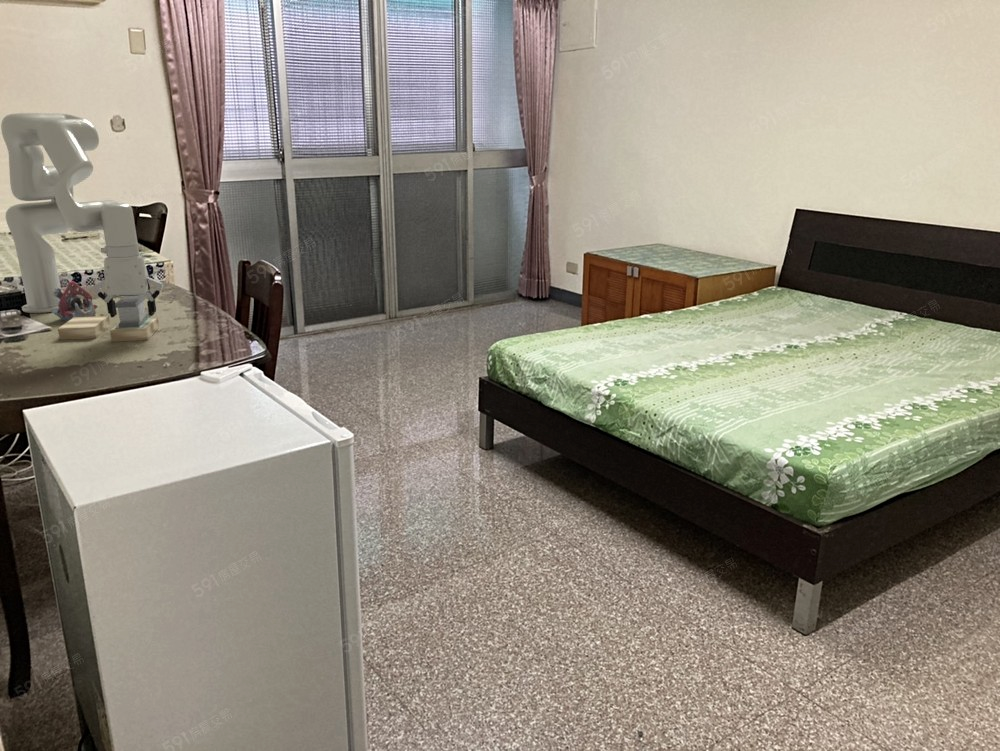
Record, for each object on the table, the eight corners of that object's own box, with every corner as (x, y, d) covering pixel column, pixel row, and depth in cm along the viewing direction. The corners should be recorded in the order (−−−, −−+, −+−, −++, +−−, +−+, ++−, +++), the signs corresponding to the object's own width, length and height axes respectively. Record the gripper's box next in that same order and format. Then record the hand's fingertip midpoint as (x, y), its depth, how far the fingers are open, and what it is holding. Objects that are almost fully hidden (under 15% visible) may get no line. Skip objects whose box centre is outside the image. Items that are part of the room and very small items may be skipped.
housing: (128, 319, 209) (125, 295, 207) (148, 318, 210) (144, 295, 207) (119, 327, 200) (115, 303, 198) (139, 327, 201) (135, 302, 199)
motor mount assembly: (78, 317, 214) (52, 281, 213) (59, 336, 219) (34, 302, 218) (110, 308, 224) (86, 274, 224) (91, 327, 229) (67, 294, 229)
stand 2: (124, 329, 211) (123, 318, 210) (159, 328, 212) (157, 316, 211) (111, 341, 200) (109, 329, 199) (147, 339, 201) (146, 328, 200)
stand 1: (75, 327, 212) (73, 317, 211) (110, 326, 214) (108, 316, 213) (59, 339, 201) (57, 328, 200) (96, 338, 203) (94, 327, 202)
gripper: (82, 255, 194) (94, 320, 199) (154, 253, 197) (163, 317, 202) (92, 250, 201) (103, 313, 206) (161, 248, 204) (170, 310, 209)
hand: (133, 315), depth 204 cm, fingers open, 9 cm apart
